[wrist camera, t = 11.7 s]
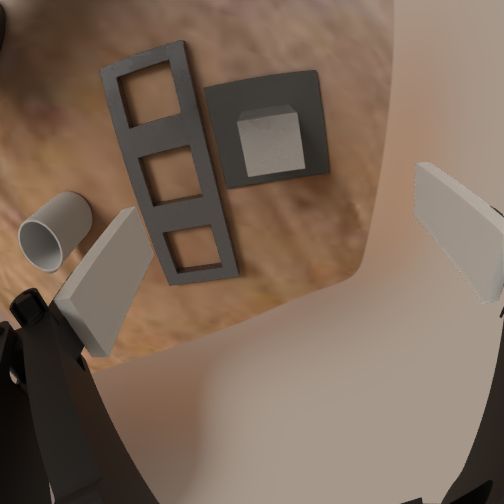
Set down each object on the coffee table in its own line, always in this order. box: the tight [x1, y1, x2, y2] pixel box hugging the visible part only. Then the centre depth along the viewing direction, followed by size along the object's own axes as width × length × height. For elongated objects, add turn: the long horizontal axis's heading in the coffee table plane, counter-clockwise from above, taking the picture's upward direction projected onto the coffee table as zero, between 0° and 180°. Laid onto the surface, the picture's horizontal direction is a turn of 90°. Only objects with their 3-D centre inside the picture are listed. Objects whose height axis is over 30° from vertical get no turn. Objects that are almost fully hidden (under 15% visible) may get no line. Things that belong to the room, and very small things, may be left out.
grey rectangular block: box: [237, 104, 305, 177], centre depth 28 cm, size 5×5×8 cm
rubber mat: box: [204, 70, 330, 189], centre depth 32 cm, size 12×12×1 cm
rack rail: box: [99, 40, 240, 286], centre depth 35 cm, size 30×10×1 cm, turn 11°
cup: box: [18, 191, 93, 273], centre depth 35 cm, size 7×10×9 cm
